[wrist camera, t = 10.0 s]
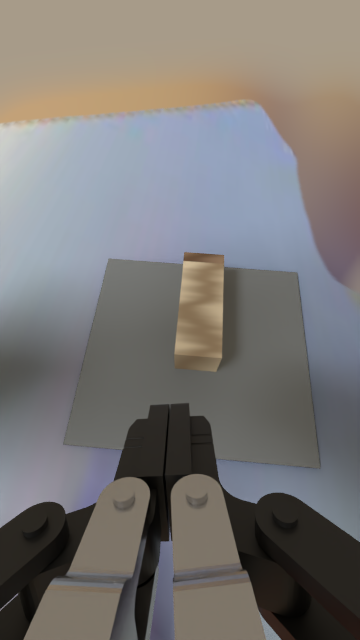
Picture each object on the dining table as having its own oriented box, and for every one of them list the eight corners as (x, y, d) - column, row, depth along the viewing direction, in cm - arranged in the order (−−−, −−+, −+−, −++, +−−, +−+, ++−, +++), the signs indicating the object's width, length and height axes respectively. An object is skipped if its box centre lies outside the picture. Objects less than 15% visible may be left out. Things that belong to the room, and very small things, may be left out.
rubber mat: (64, 444, 28) (63, 444, 27) (109, 260, 37) (108, 258, 37) (318, 468, 27) (320, 468, 26) (295, 274, 37) (297, 272, 36)
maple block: (174, 354, 27) (184, 252, 32) (174, 368, 31) (183, 275, 36) (222, 358, 27) (224, 255, 32) (216, 371, 30) (218, 278, 36)
